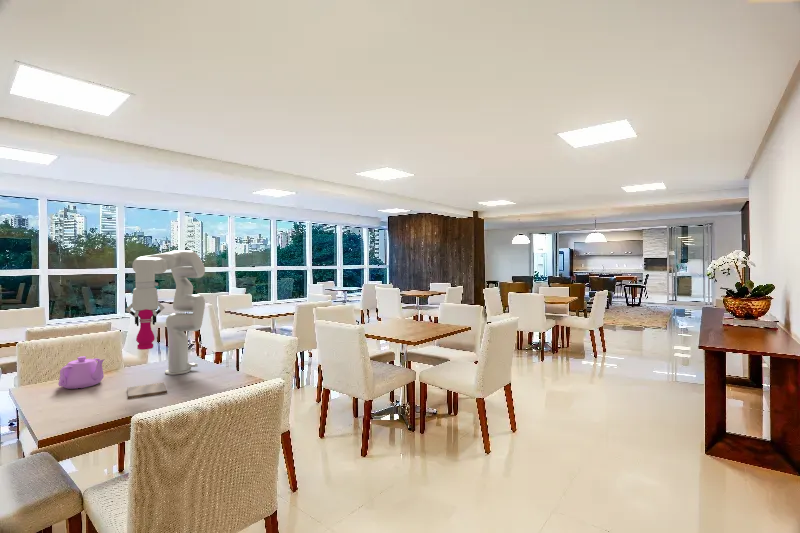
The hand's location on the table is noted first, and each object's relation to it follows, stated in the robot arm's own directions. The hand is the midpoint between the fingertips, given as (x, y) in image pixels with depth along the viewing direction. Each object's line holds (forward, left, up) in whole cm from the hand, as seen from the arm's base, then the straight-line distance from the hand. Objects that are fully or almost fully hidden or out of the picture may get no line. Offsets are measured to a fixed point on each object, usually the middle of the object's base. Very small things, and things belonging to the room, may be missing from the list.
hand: (145, 324), depth 195 cm
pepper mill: (0, 0, -11) cm, 11 cm away
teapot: (+24, -26, -31) cm, 47 cm away
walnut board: (0, 0, -31) cm, 31 cm away
